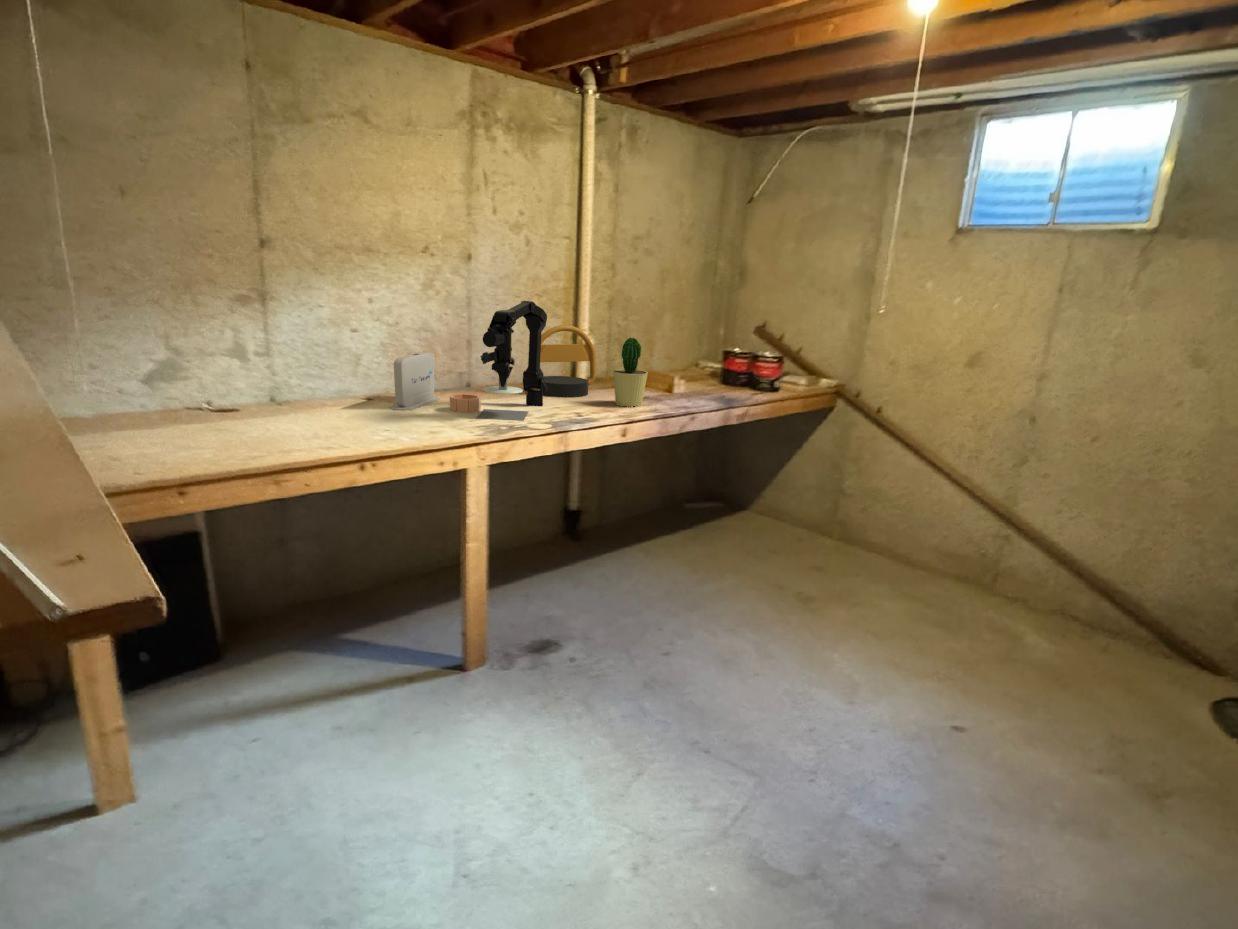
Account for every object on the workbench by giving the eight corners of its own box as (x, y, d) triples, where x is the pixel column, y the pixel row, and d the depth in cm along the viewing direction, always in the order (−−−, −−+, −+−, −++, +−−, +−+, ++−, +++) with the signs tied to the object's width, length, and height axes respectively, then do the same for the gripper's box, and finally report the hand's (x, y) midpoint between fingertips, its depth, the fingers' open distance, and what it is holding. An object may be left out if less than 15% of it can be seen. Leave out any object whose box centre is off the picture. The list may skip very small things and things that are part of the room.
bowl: (482, 408, 279) (482, 394, 277) (477, 413, 268) (477, 399, 266) (454, 406, 279) (454, 393, 277) (447, 412, 268) (447, 398, 266)
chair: (606, 395, 323) (610, 327, 315) (539, 399, 305) (541, 327, 297) (581, 387, 344) (584, 322, 335) (516, 389, 325) (517, 322, 317)
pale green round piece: (524, 388, 272) (525, 374, 270) (520, 395, 257) (520, 380, 256) (486, 386, 271) (487, 372, 270) (480, 393, 257) (480, 378, 255)
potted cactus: (627, 409, 294) (631, 338, 286) (604, 403, 305) (607, 334, 297) (653, 406, 304) (657, 337, 295) (629, 400, 315) (633, 334, 306)
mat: (528, 412, 276) (528, 411, 276) (523, 421, 259) (523, 420, 258) (483, 410, 275) (483, 408, 275) (475, 419, 258) (475, 418, 258)
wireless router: (408, 411, 266) (406, 359, 260) (384, 409, 267) (382, 357, 262) (444, 398, 295) (443, 351, 290) (422, 396, 297) (421, 349, 292)
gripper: (486, 341, 268) (486, 381, 273) (477, 346, 250) (477, 389, 255) (515, 343, 269) (514, 382, 273) (508, 348, 251) (507, 390, 255)
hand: (503, 386), depth 264 cm, fingers closed on pale green round piece, 3 cm apart
